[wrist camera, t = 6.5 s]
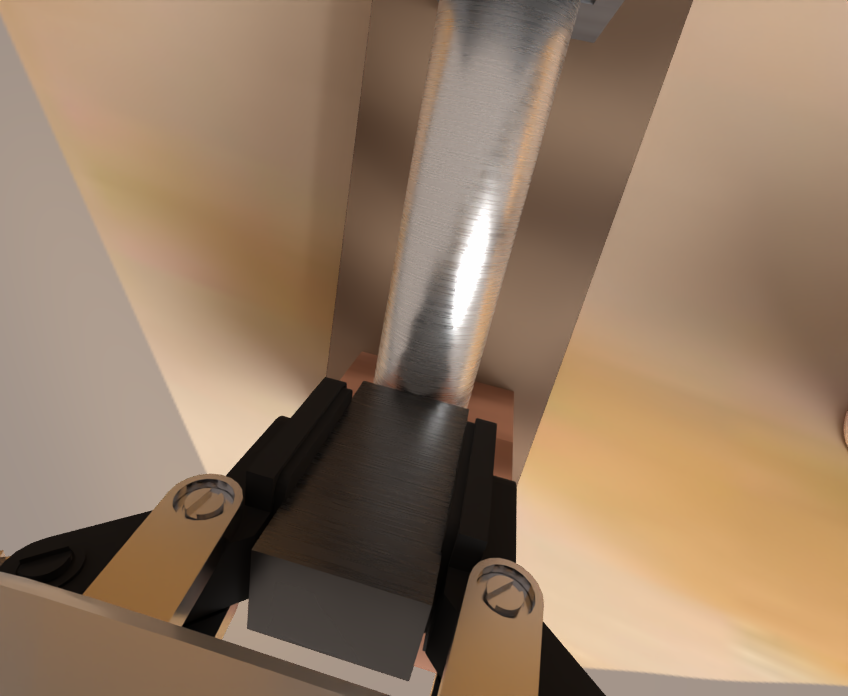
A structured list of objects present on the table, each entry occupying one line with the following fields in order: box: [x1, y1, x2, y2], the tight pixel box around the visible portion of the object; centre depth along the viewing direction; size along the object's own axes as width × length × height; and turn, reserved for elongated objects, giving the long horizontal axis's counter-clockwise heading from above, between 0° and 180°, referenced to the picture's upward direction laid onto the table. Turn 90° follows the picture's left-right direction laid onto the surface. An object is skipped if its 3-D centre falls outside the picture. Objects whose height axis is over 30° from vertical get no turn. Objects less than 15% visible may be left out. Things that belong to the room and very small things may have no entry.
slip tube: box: [247, 0, 581, 681], centre depth 10 cm, size 19×3×9 cm, turn 169°
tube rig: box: [248, 0, 693, 673], centre depth 14 cm, size 27×10×11 cm, turn 169°
